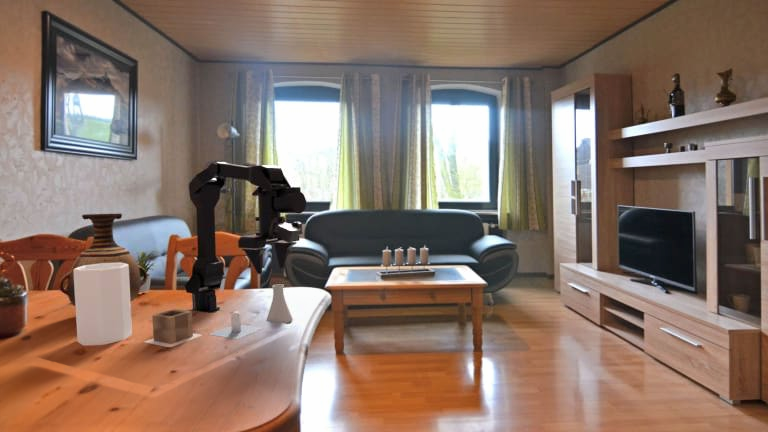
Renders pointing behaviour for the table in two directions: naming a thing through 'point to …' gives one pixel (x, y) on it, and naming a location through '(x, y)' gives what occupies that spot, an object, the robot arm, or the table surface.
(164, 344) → the rod stand
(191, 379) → the table surface
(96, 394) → the table surface
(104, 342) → the cup
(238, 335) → the plate
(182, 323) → the walnut collar
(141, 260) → the house plant
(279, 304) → the flask
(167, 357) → the table surface
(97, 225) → the vase
